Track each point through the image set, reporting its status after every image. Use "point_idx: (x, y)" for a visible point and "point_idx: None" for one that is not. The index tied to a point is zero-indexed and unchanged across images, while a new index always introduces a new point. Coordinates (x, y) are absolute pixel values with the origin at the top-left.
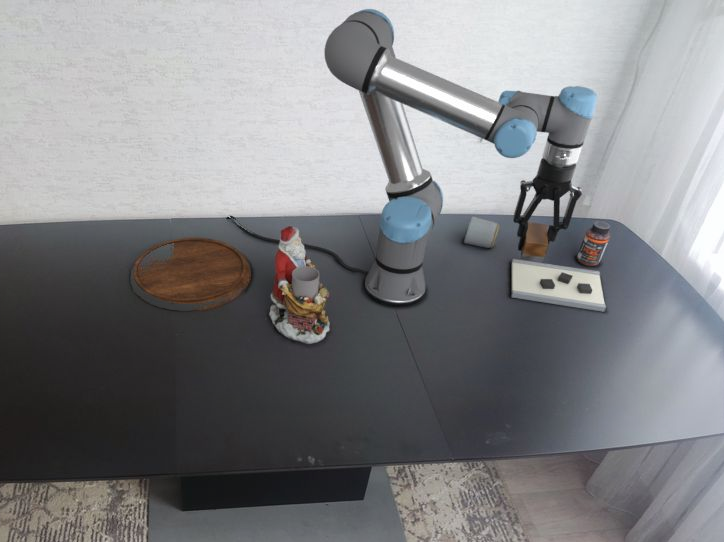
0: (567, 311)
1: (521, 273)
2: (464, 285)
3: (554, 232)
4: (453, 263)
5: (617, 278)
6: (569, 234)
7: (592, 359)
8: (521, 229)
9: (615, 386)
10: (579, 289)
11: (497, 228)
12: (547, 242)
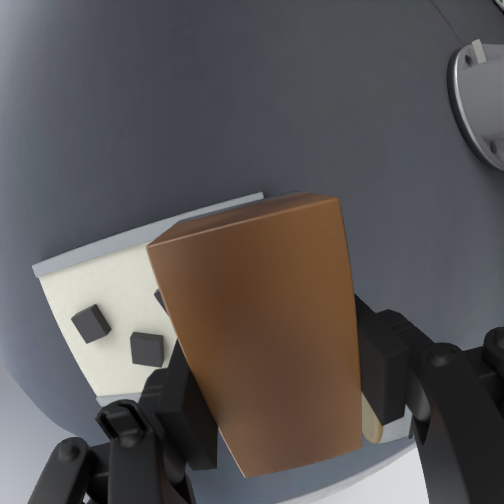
0: (101, 211)
1: None
2: (393, 186)
3: (153, 414)
4: (431, 277)
5: (75, 401)
6: (212, 488)
7: (38, 65)
8: (406, 340)
9: (14, 32)
10: (98, 314)
11: (378, 428)
12: (162, 283)
